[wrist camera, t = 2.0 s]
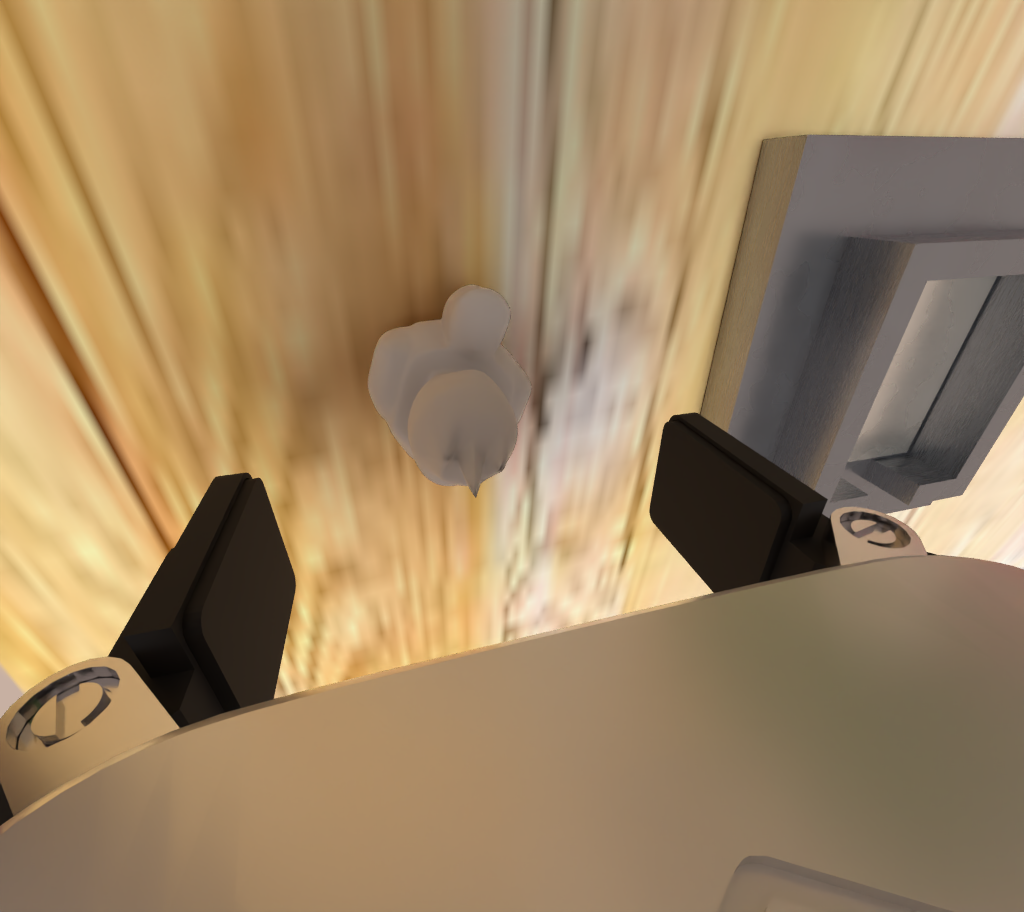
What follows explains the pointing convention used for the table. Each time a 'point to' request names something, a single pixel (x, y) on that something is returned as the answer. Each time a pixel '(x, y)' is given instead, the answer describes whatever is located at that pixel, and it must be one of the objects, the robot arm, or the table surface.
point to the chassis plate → (876, 314)
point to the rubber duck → (452, 389)
